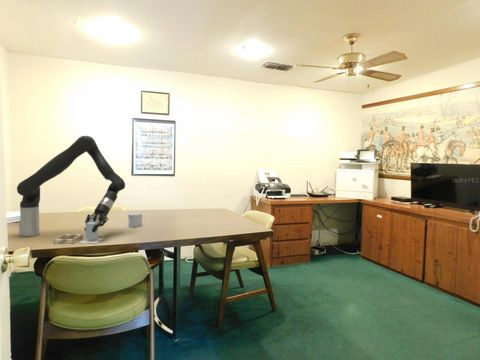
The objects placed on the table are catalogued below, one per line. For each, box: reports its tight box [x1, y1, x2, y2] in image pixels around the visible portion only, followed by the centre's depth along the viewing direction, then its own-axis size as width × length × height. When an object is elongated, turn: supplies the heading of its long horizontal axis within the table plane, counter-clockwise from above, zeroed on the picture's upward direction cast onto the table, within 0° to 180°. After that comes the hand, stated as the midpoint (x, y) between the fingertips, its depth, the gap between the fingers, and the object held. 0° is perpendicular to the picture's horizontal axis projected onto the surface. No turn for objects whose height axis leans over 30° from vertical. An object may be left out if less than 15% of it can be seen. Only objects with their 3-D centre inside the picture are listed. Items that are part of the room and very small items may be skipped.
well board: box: [52, 233, 84, 245], centre depth 173 cm, size 11×11×2 cm
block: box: [85, 222, 99, 240], centre depth 173 cm, size 4×4×9 cm
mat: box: [79, 237, 104, 245], centre depth 174 cm, size 9×10×1 cm
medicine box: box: [127, 212, 143, 229], centre depth 210 cm, size 8×4×9 cm, turn 141°
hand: (89, 231), depth 171 cm, fingers closed on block, 4 cm apart
